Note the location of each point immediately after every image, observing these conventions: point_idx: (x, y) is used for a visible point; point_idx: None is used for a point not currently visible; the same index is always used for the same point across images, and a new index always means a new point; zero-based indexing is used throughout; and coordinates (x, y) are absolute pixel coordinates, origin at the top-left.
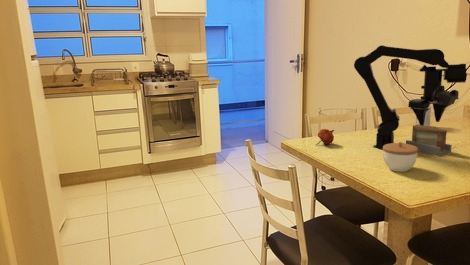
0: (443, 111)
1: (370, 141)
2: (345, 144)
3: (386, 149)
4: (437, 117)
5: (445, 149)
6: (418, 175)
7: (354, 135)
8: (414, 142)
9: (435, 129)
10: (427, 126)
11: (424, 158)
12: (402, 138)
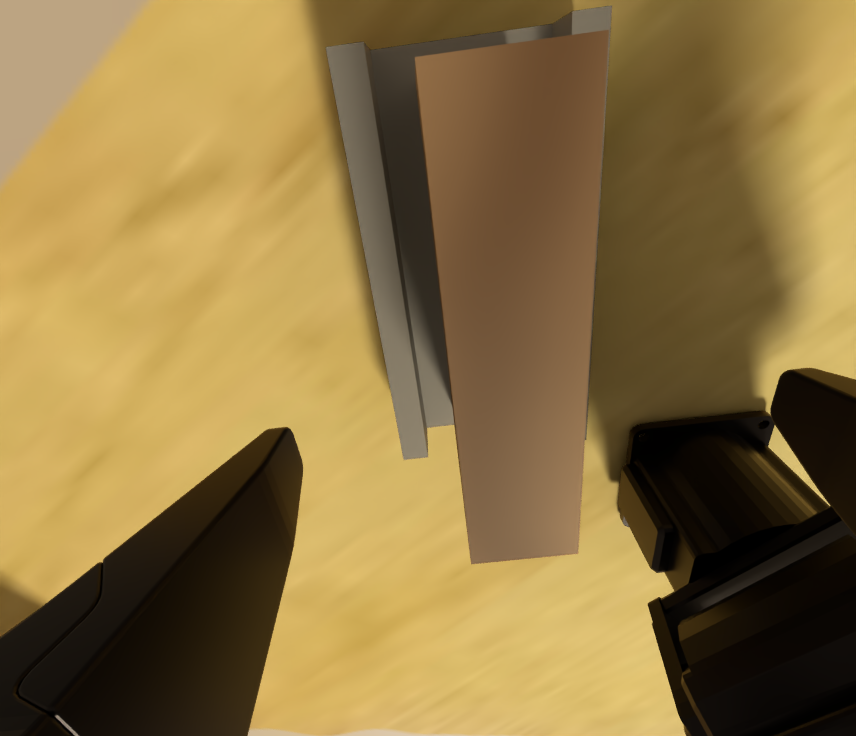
0: (43, 622)
1: (618, 593)
2: None
3: None
4: (272, 519)
5: (382, 108)
6: None
7: (574, 696)
8: (590, 356)
9: (561, 225)
10: (465, 442)
11: (771, 39)
12: (374, 563)
